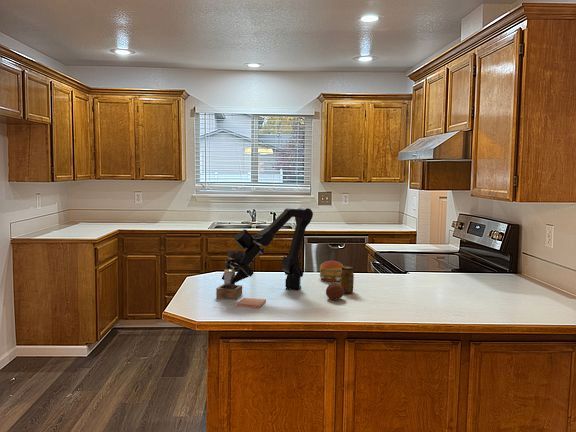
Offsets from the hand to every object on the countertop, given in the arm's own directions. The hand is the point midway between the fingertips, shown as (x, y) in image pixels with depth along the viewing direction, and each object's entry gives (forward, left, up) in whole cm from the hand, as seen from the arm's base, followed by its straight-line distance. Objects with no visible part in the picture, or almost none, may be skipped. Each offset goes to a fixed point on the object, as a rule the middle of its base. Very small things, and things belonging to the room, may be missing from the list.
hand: (226, 281), depth 234 cm
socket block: (-1, -1, -7) cm, 7 cm away
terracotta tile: (-14, +8, -7) cm, 18 cm away
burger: (-40, -50, -7) cm, 64 cm away
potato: (-47, -11, -7) cm, 49 cm away
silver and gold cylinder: (-1, -1, -4) cm, 4 cm away
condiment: (-51, -24, -7) cm, 57 cm away
